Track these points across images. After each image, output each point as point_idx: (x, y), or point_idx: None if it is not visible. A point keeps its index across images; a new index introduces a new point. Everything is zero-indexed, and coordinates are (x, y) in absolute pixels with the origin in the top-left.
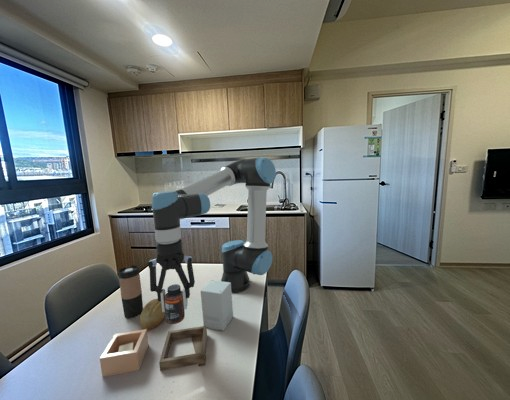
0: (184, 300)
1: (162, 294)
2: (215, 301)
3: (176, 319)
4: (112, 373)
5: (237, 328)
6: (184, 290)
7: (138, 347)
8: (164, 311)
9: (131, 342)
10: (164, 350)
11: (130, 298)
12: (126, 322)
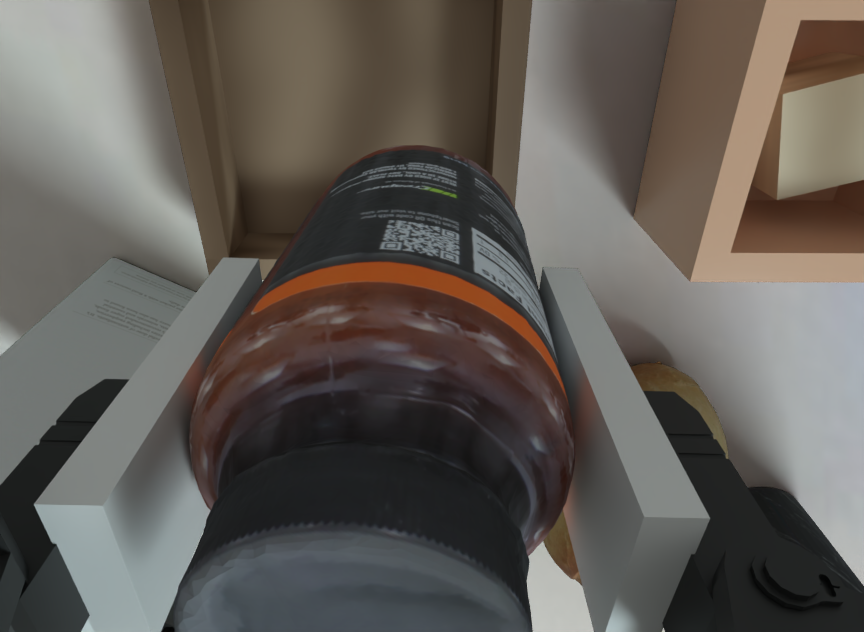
0: (185, 338)
1: (643, 483)
2: (25, 429)
3: (373, 162)
4: None
5: (13, 259)
6: (43, 507)
7: (756, 44)
8: (547, 271)
9: (791, 196)
10: (510, 64)
11: None
12: (787, 459)
